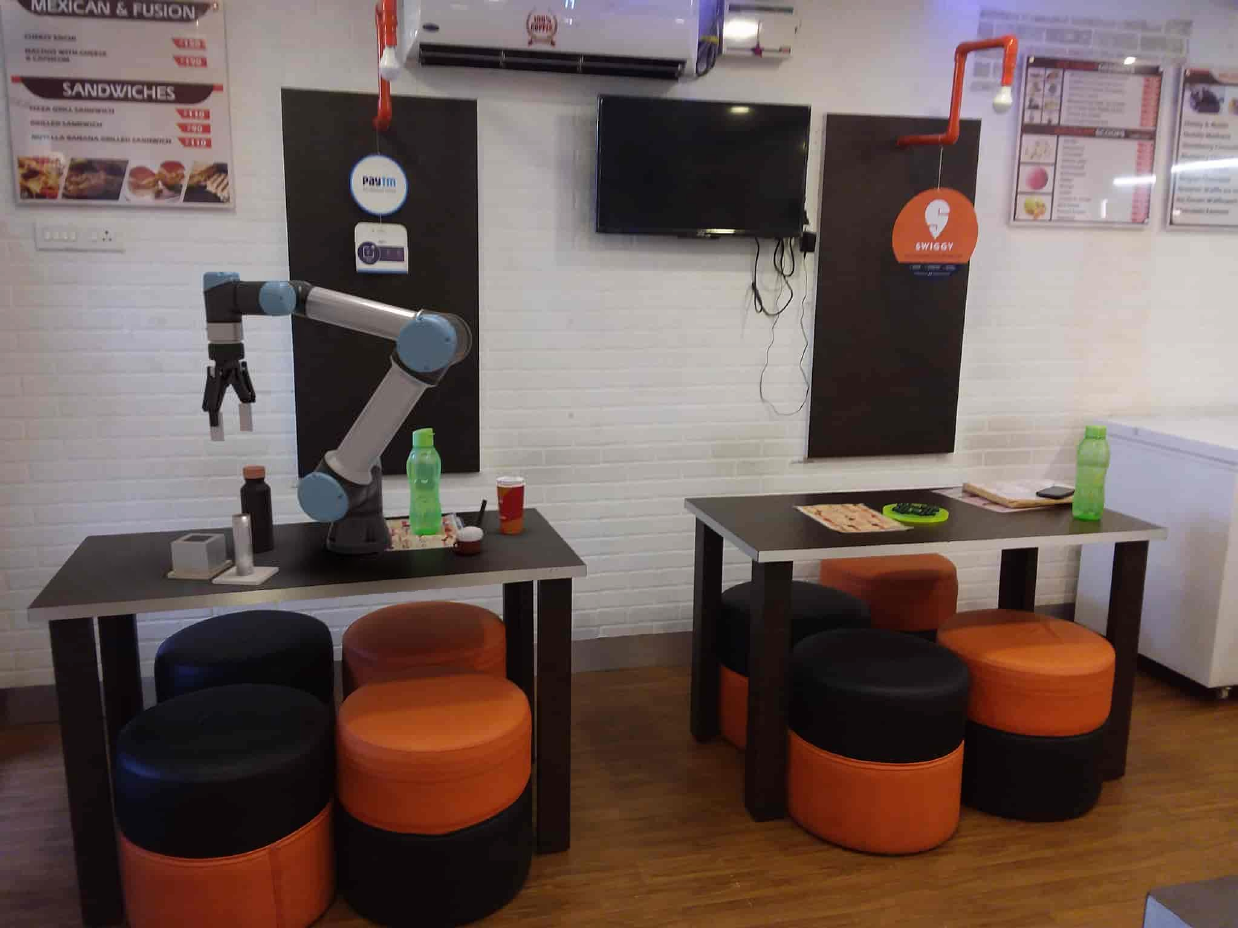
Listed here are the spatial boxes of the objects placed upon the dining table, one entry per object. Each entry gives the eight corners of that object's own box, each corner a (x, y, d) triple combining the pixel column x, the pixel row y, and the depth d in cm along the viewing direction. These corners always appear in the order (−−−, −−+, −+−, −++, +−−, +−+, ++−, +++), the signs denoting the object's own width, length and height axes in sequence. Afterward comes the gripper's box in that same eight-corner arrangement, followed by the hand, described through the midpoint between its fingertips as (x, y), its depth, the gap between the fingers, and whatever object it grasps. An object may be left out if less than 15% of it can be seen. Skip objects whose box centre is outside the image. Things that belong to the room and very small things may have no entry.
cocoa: (455, 559, 221) (451, 510, 218) (449, 550, 227) (446, 503, 224) (494, 553, 225) (491, 505, 222) (488, 545, 230) (485, 498, 227)
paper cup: (500, 527, 248) (499, 475, 245) (529, 528, 247) (528, 476, 244) (492, 535, 240) (491, 481, 238) (522, 536, 239) (521, 482, 237)
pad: (278, 570, 210) (278, 567, 210) (257, 585, 200) (257, 581, 200) (235, 569, 211) (235, 565, 211) (212, 583, 201) (212, 579, 201)
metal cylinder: (235, 572, 206) (231, 514, 204) (253, 570, 208) (249, 513, 205) (236, 576, 203) (232, 518, 201) (254, 574, 205) (250, 516, 202)
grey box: (241, 558, 219) (239, 527, 218) (207, 579, 204) (204, 546, 202) (204, 557, 220) (201, 526, 218) (167, 578, 205) (164, 544, 203)
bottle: (274, 551, 225) (269, 469, 221) (244, 554, 223) (238, 471, 219) (274, 543, 231) (269, 464, 227) (244, 546, 229) (238, 465, 225)
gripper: (236, 338, 223) (242, 426, 227) (179, 345, 198) (187, 445, 203) (267, 338, 222) (272, 427, 226) (213, 346, 198) (221, 445, 202)
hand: (232, 436), depth 214 cm, fingers open, 13 cm apart
